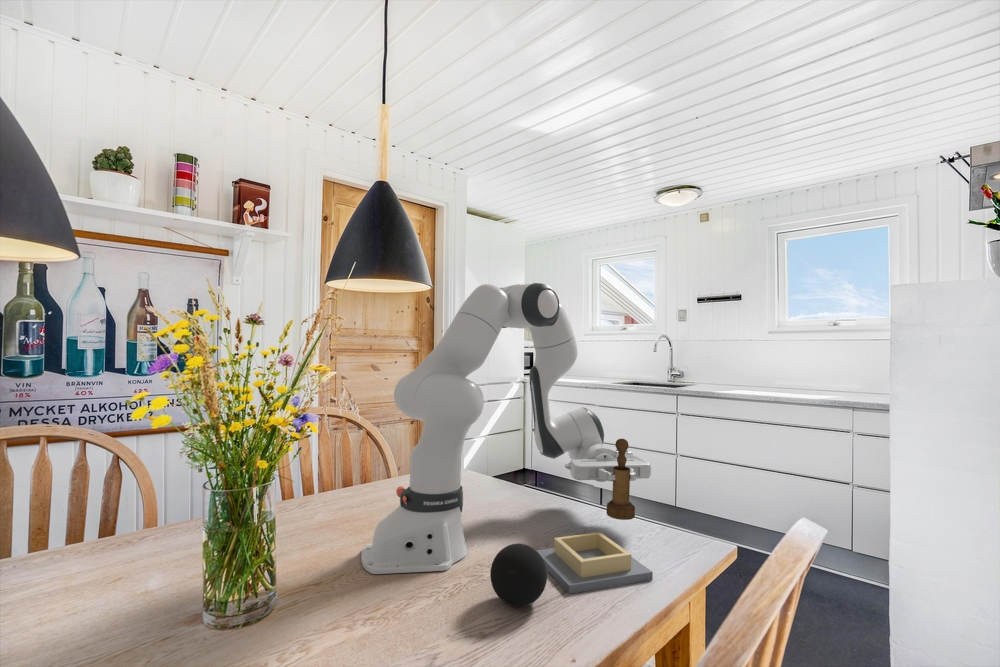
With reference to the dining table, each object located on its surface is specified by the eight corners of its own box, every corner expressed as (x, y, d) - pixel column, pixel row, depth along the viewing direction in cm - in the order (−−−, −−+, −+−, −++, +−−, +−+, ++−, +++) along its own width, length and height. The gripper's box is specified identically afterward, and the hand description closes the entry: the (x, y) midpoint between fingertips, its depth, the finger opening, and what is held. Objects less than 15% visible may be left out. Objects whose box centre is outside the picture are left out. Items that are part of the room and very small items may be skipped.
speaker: (534, 585, 93) (534, 532, 93) (555, 613, 83) (556, 554, 84) (483, 593, 90) (484, 538, 90) (499, 622, 80) (500, 561, 81)
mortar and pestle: (628, 522, 112) (629, 442, 112) (601, 515, 116) (603, 439, 116) (639, 514, 117) (640, 438, 118) (613, 508, 121) (615, 435, 121)
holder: (569, 593, 90) (569, 569, 90) (535, 557, 105) (535, 536, 105) (652, 579, 96) (652, 556, 96) (608, 547, 111) (608, 527, 111)
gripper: (562, 452, 128) (581, 465, 114) (635, 450, 131) (662, 463, 118) (562, 476, 127) (580, 492, 114) (635, 474, 131) (662, 489, 118)
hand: (623, 477), depth 116 cm, fingers closed on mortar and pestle, 4 cm apart
